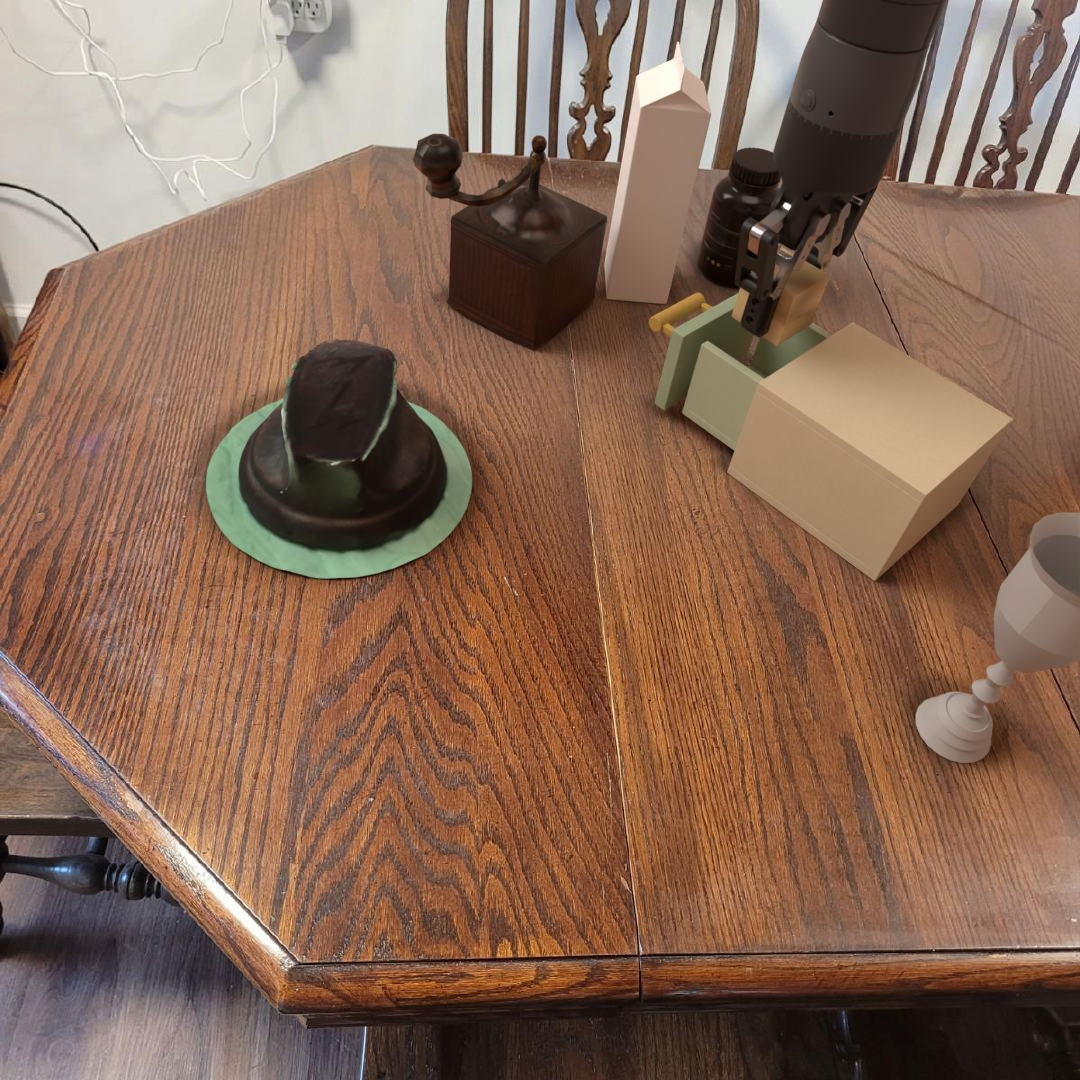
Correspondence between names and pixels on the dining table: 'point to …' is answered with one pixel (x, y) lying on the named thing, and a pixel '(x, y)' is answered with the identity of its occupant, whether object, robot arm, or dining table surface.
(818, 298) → the block
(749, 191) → the supplement bottle
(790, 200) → the robot arm
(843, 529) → the cabinet
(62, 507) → the dining table surface
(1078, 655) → the chalice
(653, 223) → the milk
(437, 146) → the brown coffee grinder
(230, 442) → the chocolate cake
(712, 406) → the drawer
